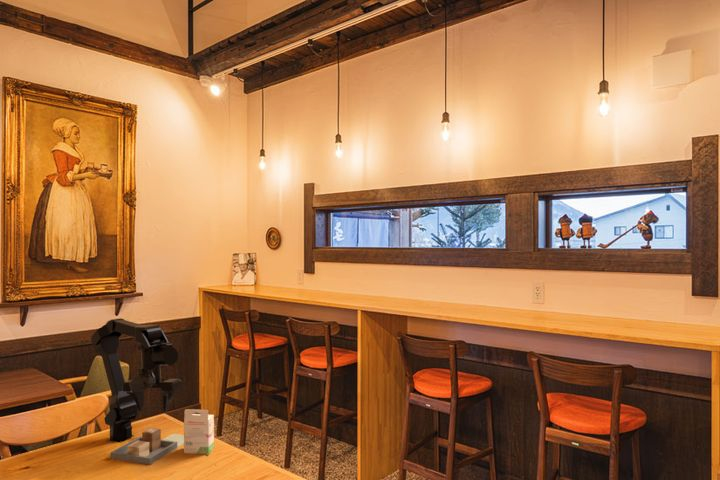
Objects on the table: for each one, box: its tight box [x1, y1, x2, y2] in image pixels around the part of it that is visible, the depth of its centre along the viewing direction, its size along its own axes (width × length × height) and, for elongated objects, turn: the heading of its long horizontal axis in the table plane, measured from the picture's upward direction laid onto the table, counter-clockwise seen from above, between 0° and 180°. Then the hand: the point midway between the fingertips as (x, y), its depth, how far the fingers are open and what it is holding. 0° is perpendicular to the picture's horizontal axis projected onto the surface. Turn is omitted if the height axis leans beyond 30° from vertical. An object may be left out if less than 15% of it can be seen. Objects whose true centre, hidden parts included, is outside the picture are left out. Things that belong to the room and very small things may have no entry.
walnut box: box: [141, 427, 162, 452], centre depth 161 cm, size 4×4×6 cm
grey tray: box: [110, 436, 178, 466], centre depth 158 cm, size 15×13×2 cm
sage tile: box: [162, 433, 184, 448], centre depth 168 cm, size 9×9×1 cm
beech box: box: [127, 441, 149, 457], centre depth 155 cm, size 4×4×4 cm
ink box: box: [183, 408, 215, 456], centre depth 160 cm, size 9×5×15 cm, turn 84°
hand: (153, 411), depth 161 cm, fingers open, 9 cm apart
